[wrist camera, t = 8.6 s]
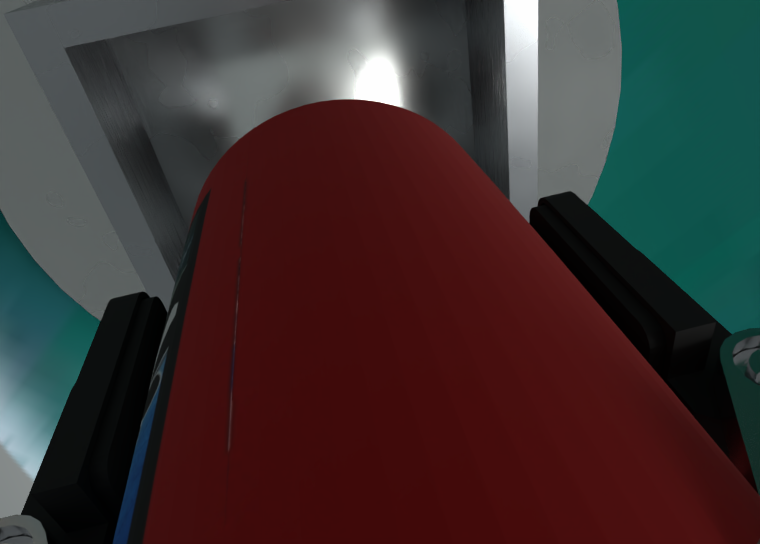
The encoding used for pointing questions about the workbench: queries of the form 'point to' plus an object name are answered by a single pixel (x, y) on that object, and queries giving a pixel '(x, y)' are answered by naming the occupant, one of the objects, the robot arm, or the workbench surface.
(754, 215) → the workbench surface
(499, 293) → the beverage can
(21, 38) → the rosette plate
